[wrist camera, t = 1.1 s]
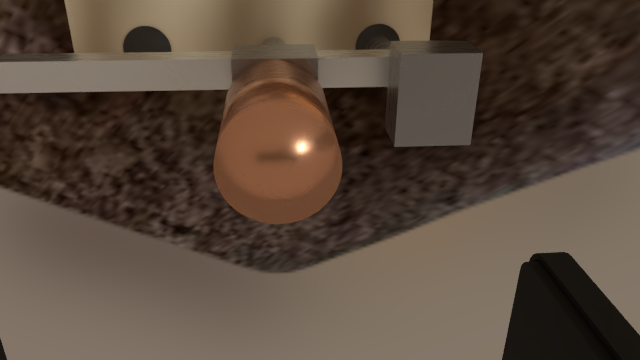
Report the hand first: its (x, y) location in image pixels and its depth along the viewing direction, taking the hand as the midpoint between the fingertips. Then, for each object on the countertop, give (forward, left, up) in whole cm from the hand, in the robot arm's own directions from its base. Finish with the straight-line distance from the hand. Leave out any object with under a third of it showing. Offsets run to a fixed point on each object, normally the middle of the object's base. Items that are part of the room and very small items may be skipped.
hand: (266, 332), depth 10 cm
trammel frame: (+1, 0, -24) cm, 24 cm away
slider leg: (0, 0, -24) cm, 24 cm away
